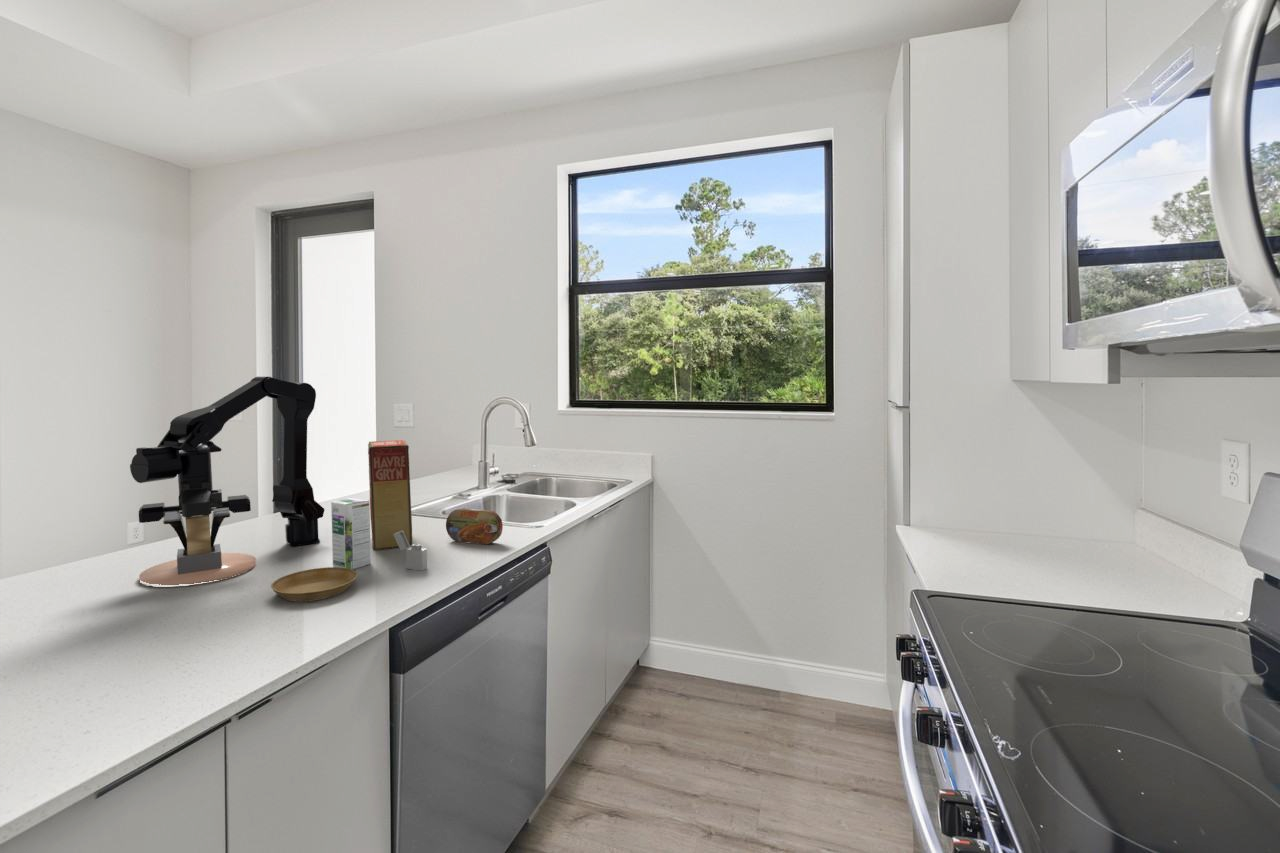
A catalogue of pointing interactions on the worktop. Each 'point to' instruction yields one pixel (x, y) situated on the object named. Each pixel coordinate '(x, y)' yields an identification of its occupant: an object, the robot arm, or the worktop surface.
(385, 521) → the food packaging
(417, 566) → the lighter
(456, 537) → the tin
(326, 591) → the plant saucer
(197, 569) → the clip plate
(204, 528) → the oak peg
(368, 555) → the syrup box
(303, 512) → the robot arm
